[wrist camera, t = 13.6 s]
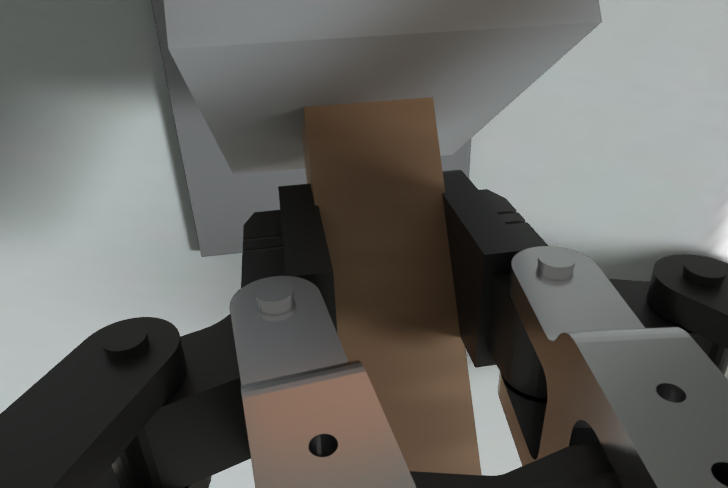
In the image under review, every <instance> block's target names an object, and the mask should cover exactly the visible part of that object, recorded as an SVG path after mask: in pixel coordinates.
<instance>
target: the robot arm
mask: <svg viewBox="0 0 728 488" xmlns="http://www.w3.org/2000/svg"><path fill="white" fill-rule="evenodd" d="M443 179H444V187H445V193H442V196H443V204H444V212H445V219H446V227H447V235H448V243H449V251H450V259H451V266H452V274H453V282H454V290H455V298H456V306H457V314H458V321H459V329H460V337H461V339H462V341H463V343H464V345H465V347H466V349H467V351H468V353H469V356H470V358H471V360H472V362H473V364H474V366H475V367H482V366H489V365H497V366H498V368H499V370H500V374H499V383H498V395H499V399H500V401H501V404H502V407H503V410H504V413H505V416H506V419H507V422H508V425H509V428H510V431H511V434H512V437H513V439H514V442H515V445H516V448H517V451H518V454H519V457H520V460H521V463H522V467H520V468H518V469H515V470H513V471H511V472H508V473H506V474H503V475H498V476H483V475H467V474H450V473H434V472H417V471H409V469H408V467H407V465H406V462H405V460H404V458H403V455H402V453H401V451H400V448H399V446H398V444H397V442H396V439H395V437H394V435H393V432H392V430H391V428H390V425H389V423H388V421H387V418H386V416H385V414H384V412H383V409H382V407H381V405H380V402H379V400H378V398H377V395H376V393H375V391H374V389H373V386H372V384H371V382H370V379H369V377H368V375H367V372H366V370H365V368H364V366H363V364H362V363H361V362H360V361H359V360H355V361H350V362H348V359H347V357H346V354H345V352H344V349H343V347H342V344H341V342H340V339H339V337H338V333H337V319H336V304H335V289H334V274H333V268H332V264H331V259H330V255H329V250H328V246H327V241H326V237H325V232H324V228H323V224H322V219H321V215H320V210H319V206H318V205H316V206H315V203H314V198H313V193H312V189H311V184H310V183H309V184H299V185H288V186H278V190H279V201H280V210H272V211H262V212H254V213H253V215H252V216H251V217H250V218H249V219H248V220H247V222H246V223H245V224H244V225H243V253H242V281H241V289H240V290H239V291H238V292H237V293H236V294H235V295H234V296H233V298H232V299H231V302H230V313H231V314H230V315H228V316H227V317H226V318H224V319H223V320H221V321H220V322H218V323H216V324H214V325H212V326H210V327H207V328H205V329H202V330H199V331H196V332H193V333H190V334H187V335H184V336H181V337H180V335H179V332H178V330H177V328H176V327H175V326H174V325H173V324H171V323H170V322H168V321H166V320H163V319H159V318H152V317H140V318H132V319H127V320H123V321H119V322H116V323H113V324H111V325H108V326H106V327H104V328H102V329H100V330H98V331H97V332H95V333H93V334H92V335H91V336H89V337H88V338H87V339H86V340H84V341H83V342H82V343H81V344H80V345H79V346H78V347H76V348H75V349H74V350H73V351H72V352H71V353H70V354H68V355H67V356H66V357H65V358H64V359H63V360H62V361H60V362H59V363H58V364H57V365H56V366H55V367H54V368H53V369H51V370H50V371H49V372H48V373H47V374H46V375H45V376H43V377H42V378H41V379H40V380H39V381H38V382H37V383H35V384H34V385H33V386H32V387H31V388H30V389H29V390H27V391H26V392H25V393H24V394H23V395H22V396H21V397H19V398H18V399H17V400H16V401H15V402H14V403H13V404H11V405H10V406H9V407H8V408H7V409H6V410H5V411H3V412H2V413H1V414H0V488H208V487H209V484H210V481H211V475H214V474H216V473H218V472H221V471H223V470H225V469H227V468H230V467H232V466H234V465H237V464H239V463H241V462H243V461H246V460H248V459H250V458H251V461H252V468H253V475H254V481H255V488H728V379H727V378H726V377H725V376H724V375H725V372H726V370H727V367H728V264H727V263H724V262H721V261H718V260H715V259H712V258H708V257H702V256H696V255H673V256H668V257H664V258H662V259H660V260H659V261H657V262H656V264H655V265H654V269H653V273H652V277H651V281H650V282H644V281H630V280H616V279H608V278H607V277H606V275H605V274H604V273H603V272H602V270H601V269H600V268H599V266H598V265H597V264H596V263H595V262H594V261H593V260H592V259H590V258H589V257H587V256H586V255H584V254H581V253H579V252H577V251H574V250H570V249H566V248H561V247H553V246H548V245H547V244H546V243H545V242H544V240H543V239H542V238H541V237H540V236H539V235H538V234H537V233H536V232H535V231H534V229H533V228H532V227H531V226H530V225H529V224H528V223H525V219H524V218H523V217H522V216H521V215H520V214H519V213H516V209H515V208H514V207H513V206H512V205H511V204H510V203H509V202H508V201H507V199H506V198H504V197H501V196H499V195H497V194H495V193H493V192H491V191H489V190H487V189H486V190H478V189H477V188H476V187H475V186H474V184H473V183H472V182H471V181H470V180H469V178H468V177H467V176H466V175H465V174H464V172H463V171H462V170H449V171H443Z"/></svg>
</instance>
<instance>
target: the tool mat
mask: <svg viewBox="0 0 728 488" xmlns="http://www.w3.org/2000/svg"><path fill="white" fill-rule="evenodd" d="M151 3H152V8H153V13H154V18H155V23H156V28H157V33H158V38H159V43H160V48H161V53H162V58H163V63H164V68H165V74H166V79H167V84H168V89H169V94H170V99H171V104H172V109H173V114H174V119H175V124H176V129H177V134H178V139H179V144H180V150H181V155H182V160H183V165H184V170H185V175H186V180H187V185H188V190H189V195H190V200H191V205H192V210H193V215H194V220H195V226H196V231H197V236H198V241H199V246H200V251H201V256H202V257H206V256H215V255H224V254H234V253H243V225H244V224H245V223H246V222H247V220H248V219H249V218H250V217H251V216H252V215H253V213H254V212H262V211H272V210H280V201H279V190H278V186H288V185H299V184H307V178H306V169H305V168H301V169H290V170H279V171H268V172H257V173H246V174H235V175H233V173H232V171H231V169H230V167H229V165H228V163H227V162H226V160H225V158H224V156H223V154H222V152H221V150H220V148H219V146H218V144H217V142H216V140H215V138H214V136H213V134H212V132H211V131H210V129H209V127H208V125H207V123H206V121H205V119H204V117H203V115H202V113H201V111H200V109H199V107H198V105H197V103H196V102H195V100H194V98H193V96H192V94H191V92H190V90H189V88H188V86H187V84H186V82H185V80H184V78H183V76H182V74H181V73H180V71H179V69H178V67H177V65H176V63H175V61H174V59H173V57H172V55H171V53H170V51H169V49H168V40H167V29H166V19H165V8H164V0H151ZM470 150H471V138H470V139H469V140H468V141H467V142H466V143H465V144H464V145H463V146H461V147H460V148H459V149H458V150H457V151H456V152H455V153H454V154H452V155H445V156H441V164H442V171H449V170H462V171H463V172H464V174H465V175H466V176H467V177H468V178H469V167H470Z"/></svg>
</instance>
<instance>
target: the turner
mask: <svg viewBox="0 0 728 488" xmlns="http://www.w3.org/2000/svg"><path fill="white" fill-rule="evenodd" d="M164 8H165V19H166V29H167V40H168V49H169V51H170V53H171V55H172V57H173V59H174V61H175V63H176V65H177V67H178V69H179V71H180V73H181V74H182V76H183V78H184V80H185V82H186V84H187V86H188V88H189V90H190V92H191V94H192V96H193V98H194V100H195V102H196V103H197V105H198V107H199V109H200V111H201V113H202V115H203V117H204V119H205V121H206V123H207V125H208V127H209V129H210V131H211V132H212V134H213V136H214V138H215V140H216V142H217V144H218V146H219V148H220V150H221V152H222V154H223V156H224V158H225V160H226V162H227V163H228V165H229V167H230V169H231V171H232V173H233V175H235V174H246V173H257V172H268V171H279V170H290V169H301V168H305V169H306V178H307V184H309V183H310V184H311V189H312V193H313V198H314V203H315V206H316V205H318V206H319V210H320V215H321V219H322V224H323V228H324V232H325V237H326V241H327V246H328V250H329V255H330V259H331V264H332V268H333V274H334V289H335V304H336V319H337V333H338V337H339V339H340V342H341V344H342V347H343V349H344V352H345V354H346V357H347V359H348V362H350V361H355V360H359V361H360V362H361V363H362V364H363V366H364V368H365V370H366V372H367V375H368V377H369V379H370V382H371V384H372V386H373V389H374V391H375V393H376V395H377V398H378V400H379V402H380V405H381V407H382V409H383V412H384V414H385V416H386V418H387V421H388V423H389V425H390V428H391V430H392V432H393V435H394V437H395V439H396V442H397V444H398V446H399V448H400V451H401V453H402V455H403V458H404V460H405V462H406V465H407V467H408V469H409V471H417V472H434V473H450V474H467V475H481V468H480V460H479V452H478V444H477V437H476V429H475V421H474V413H473V405H472V398H471V390H470V382H469V374H468V366H467V359H466V351H465V345H464V343H463V341H462V339H461V337H460V329H459V321H458V314H457V306H456V298H455V290H454V282H453V274H452V266H451V259H450V251H449V243H448V235H447V227H446V219H445V212H444V204H443V196H442V193H445V187H444V179H443V171H442V164H441V156H445V155H452V154H454V153H455V152H456V151H457V150H458V149H459V148H460V147H461V146H463V145H464V144H465V143H466V142H467V141H468V140H469V139H470V138H472V137H473V136H474V135H475V134H476V133H477V132H478V131H479V130H481V129H482V128H483V127H484V126H485V125H486V124H487V123H488V122H490V121H491V120H492V119H493V118H494V117H495V116H496V115H498V114H499V113H500V112H501V111H502V110H503V109H504V108H505V107H507V106H508V105H509V104H510V103H511V102H512V101H513V100H514V99H516V98H517V97H518V96H519V95H520V94H521V93H522V92H523V91H525V90H526V89H527V88H528V87H529V86H530V85H531V84H532V83H534V82H535V81H536V80H537V79H538V78H539V77H540V76H541V75H543V74H544V73H545V72H546V71H547V70H548V69H549V68H550V67H552V66H553V65H554V64H555V63H556V62H557V61H558V60H560V59H561V58H562V57H563V56H564V55H565V54H566V53H567V52H569V51H570V50H571V49H572V48H573V47H574V46H575V45H576V44H578V43H579V42H580V41H581V40H582V39H583V38H584V37H585V36H587V35H588V34H589V33H590V32H591V31H592V30H593V29H594V28H596V27H597V26H598V25H599V24H600V23H601V22H602V19H601V13H600V6H599V0H164Z"/></svg>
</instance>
